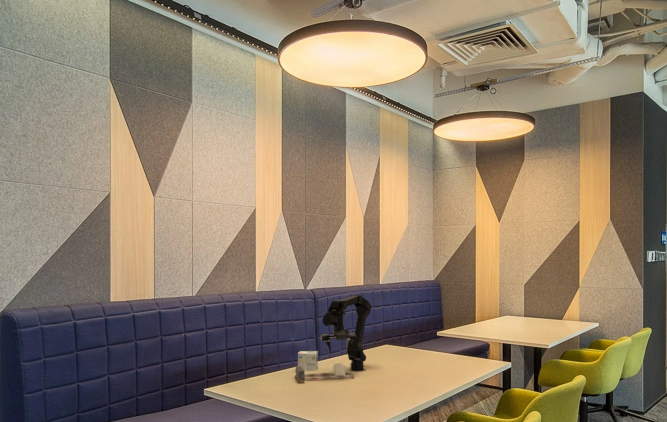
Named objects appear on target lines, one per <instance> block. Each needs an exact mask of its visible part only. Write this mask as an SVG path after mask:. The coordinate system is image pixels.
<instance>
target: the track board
mask: <svg viewBox="0 0 667 422" xmlns="http://www.w3.org/2000/svg"><path fill="white" fill-rule="evenodd" d="M305 372H306V371H304V369H303V368H302V366H298V365H296V366H295V375H294V379H295V381H296V380H297V381H296V383H297V384H300V385H301V384H305V382H317V381H319V382H320V381H334V380H336V381H339V380H352V379H353V380H354V379H355V377H354V376H353V375H352V374H351V372H349V371H345V375H344V376H334V371H332V372H318V373H317V372H316V373H315V372H313V373H305Z"/></svg>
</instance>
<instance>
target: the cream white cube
mask: <svg viewBox="0 0 667 422" xmlns="http://www.w3.org/2000/svg"><path fill="white" fill-rule="evenodd" d="M333 372H334V376H344V375H345V372H346V365H345V363H343V362H340V363H336V362H335V363H333Z"/></svg>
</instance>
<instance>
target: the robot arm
mask: <svg viewBox="0 0 667 422" xmlns="http://www.w3.org/2000/svg"><path fill="white" fill-rule="evenodd" d="M351 306H353V307H355V308H356V309H355V312H356V315H357V318H356V323H355V328H354V329H355V330H354V332H350V330H349V329H345V325H344V323H345V321H344V320H345V319H344V316H346V312H345V310H346V309H347V308H348V307H351ZM371 310H372V304H371V302H370V301H369V300H367V299H366V298H364V297H363V296H362V295H360V294H354V295H351V296H350V297H345V298H343V299H333V300H332V301H331V303H330V305H329V308H328V310H327V311H326V312H325V315H324V316H323V318H322V323H323V325H324V326H326V327H329V326H332V330H333V331H332V332H333V333H332V335H331V334H330V335H329V333H323V334H320V340H321V341H322V342H324V343H325V344H326V348H327V349H328V353H329V354H330V355H331V353H332V351H331V350H332V349H331V341H330V340H335V339H336V341H340V340H341V341H342V340H343V341H345V340H346V347H345V351H346V354H347V357H348V361H351V362H350V371H351V372H354V371H355V372H361V371H364V362H365V361H367V355H366V354H365V352H364V346H363V337H364V333H365V326H366V322H367V318H368V317H369V315H370V314H371V312H372V311H371Z"/></svg>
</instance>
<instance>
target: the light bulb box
mask: <svg viewBox="0 0 667 422" xmlns="http://www.w3.org/2000/svg"><path fill="white" fill-rule="evenodd" d="M318 352H319V351H318V350H317V351H316V350H315V351H314V350H313V351H312V350H308V351H307V350H306V351H305V350H304V351H303V350H301V351H300V350H299V352H297V366H302V368H303V369H304V371H305V372H317V371H318V370H319V361H318V360H319V357H318V356H319V355H318Z"/></svg>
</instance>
